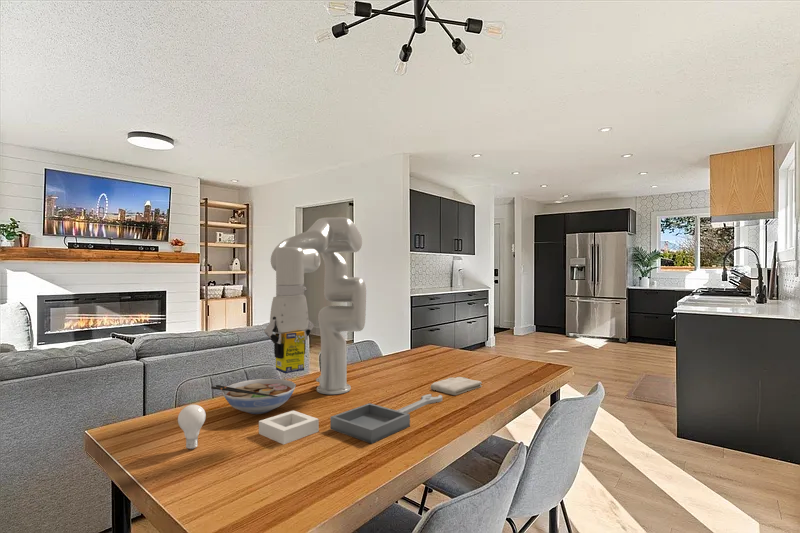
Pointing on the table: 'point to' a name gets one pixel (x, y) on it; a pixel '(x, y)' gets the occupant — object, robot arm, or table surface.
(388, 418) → the tray
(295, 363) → the supplement box
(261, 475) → the table surface
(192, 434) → the lightbulb
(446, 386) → the washcloth
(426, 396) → the adjustable wrench
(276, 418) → the socket collar
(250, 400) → the ramen bowl
